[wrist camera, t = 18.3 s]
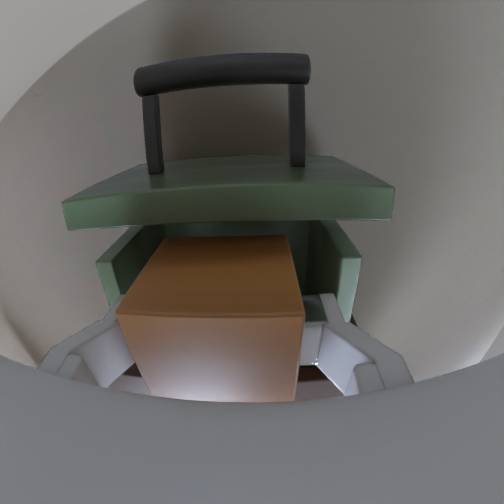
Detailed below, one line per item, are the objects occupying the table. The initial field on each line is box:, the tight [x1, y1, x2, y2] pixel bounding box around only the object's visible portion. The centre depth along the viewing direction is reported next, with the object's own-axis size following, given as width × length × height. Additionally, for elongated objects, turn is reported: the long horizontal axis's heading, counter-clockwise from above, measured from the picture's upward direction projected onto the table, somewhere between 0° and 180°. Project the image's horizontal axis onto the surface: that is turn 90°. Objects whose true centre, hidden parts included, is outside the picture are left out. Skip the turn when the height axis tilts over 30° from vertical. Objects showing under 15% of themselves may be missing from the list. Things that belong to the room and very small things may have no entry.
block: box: [115, 235, 306, 402], centre depth 9 cm, size 4×4×4 cm
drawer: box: [62, 53, 395, 367], centre depth 14 cm, size 20×12×8 cm, turn 2°
